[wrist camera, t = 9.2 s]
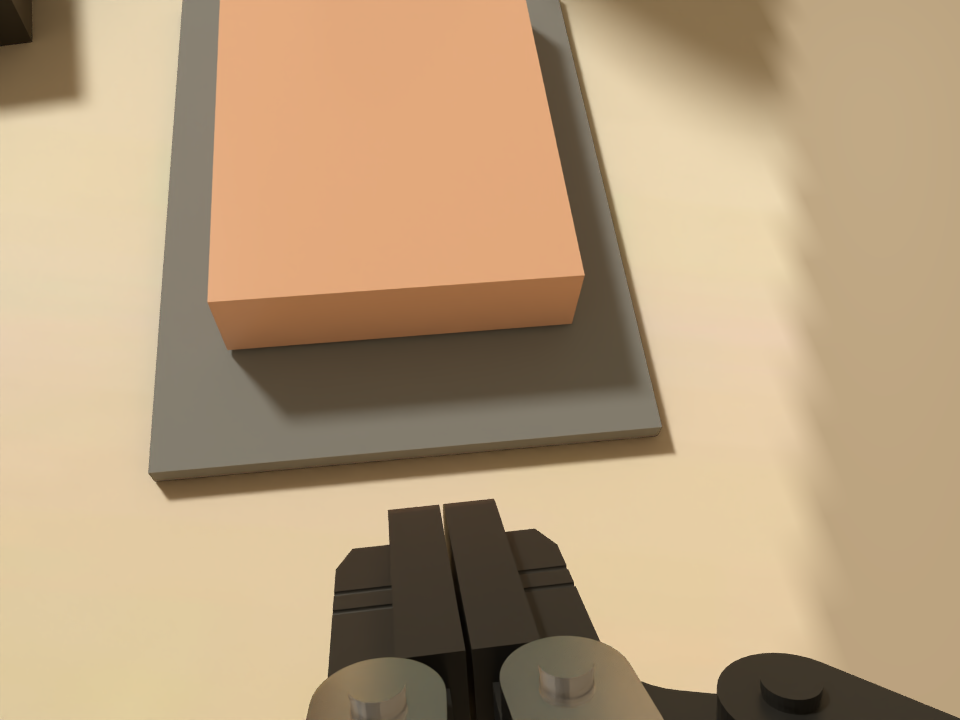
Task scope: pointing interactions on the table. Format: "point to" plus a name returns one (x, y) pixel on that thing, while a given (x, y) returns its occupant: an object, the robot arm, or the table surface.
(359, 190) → the tile
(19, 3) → the food platter
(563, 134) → the mat
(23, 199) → the table surface
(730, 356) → the table surface
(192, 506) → the table surface
